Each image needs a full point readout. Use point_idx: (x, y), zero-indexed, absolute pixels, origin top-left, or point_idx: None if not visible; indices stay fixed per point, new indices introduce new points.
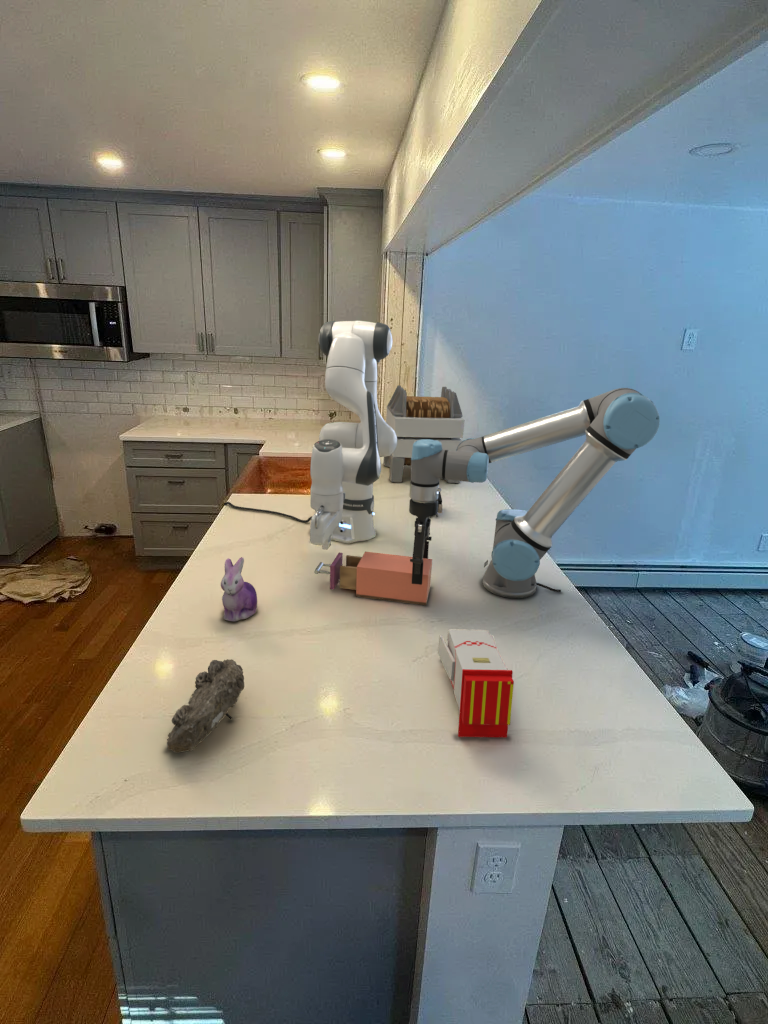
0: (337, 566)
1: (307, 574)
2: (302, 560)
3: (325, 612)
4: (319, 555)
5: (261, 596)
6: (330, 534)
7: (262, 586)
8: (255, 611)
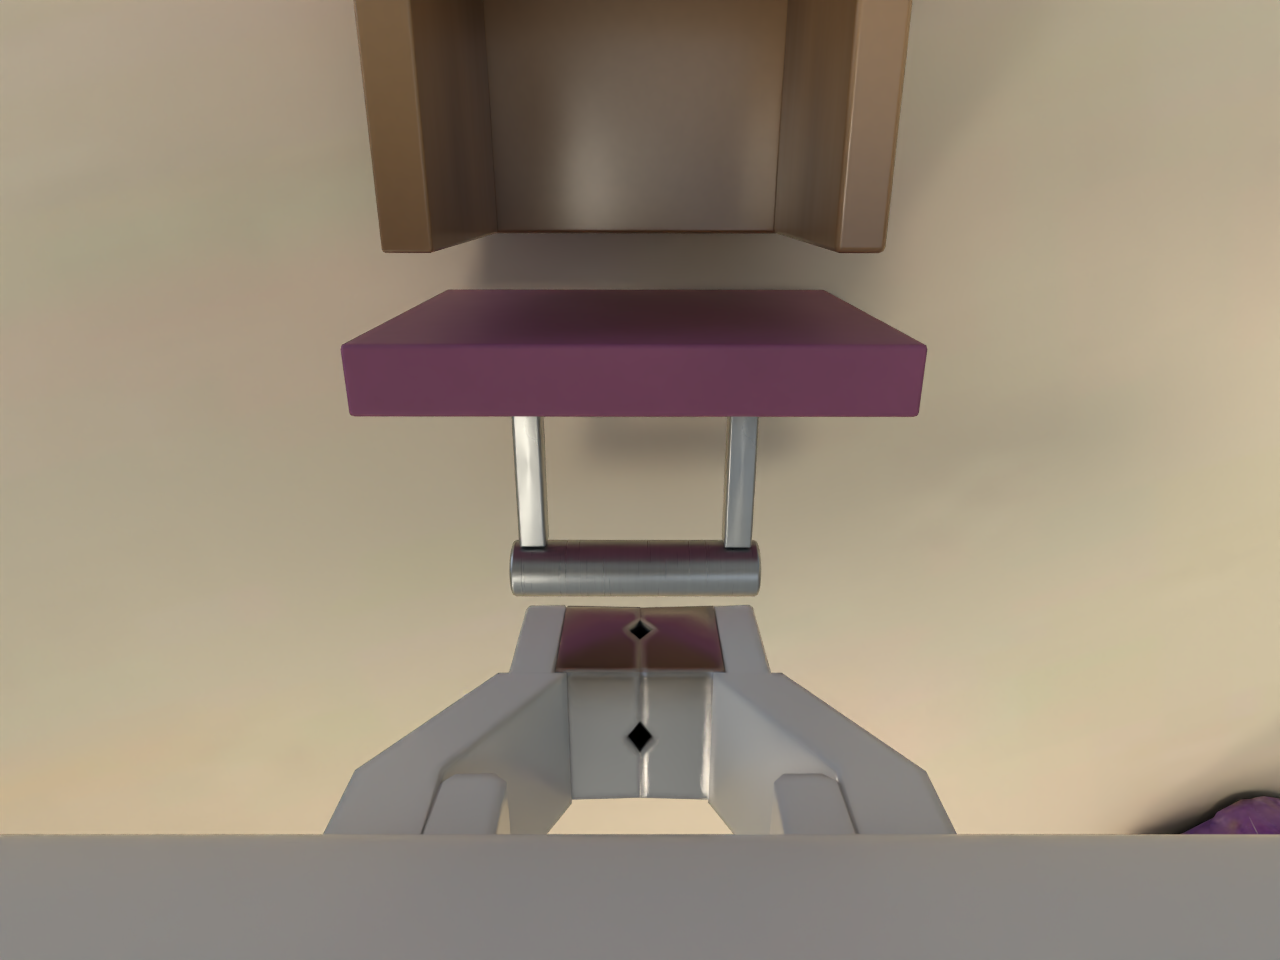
0: (701, 327)
1: (493, 636)
2: (229, 753)
3: (1246, 258)
4: (41, 648)
5: None
6: (992, 855)
7: None
8: (1268, 803)
